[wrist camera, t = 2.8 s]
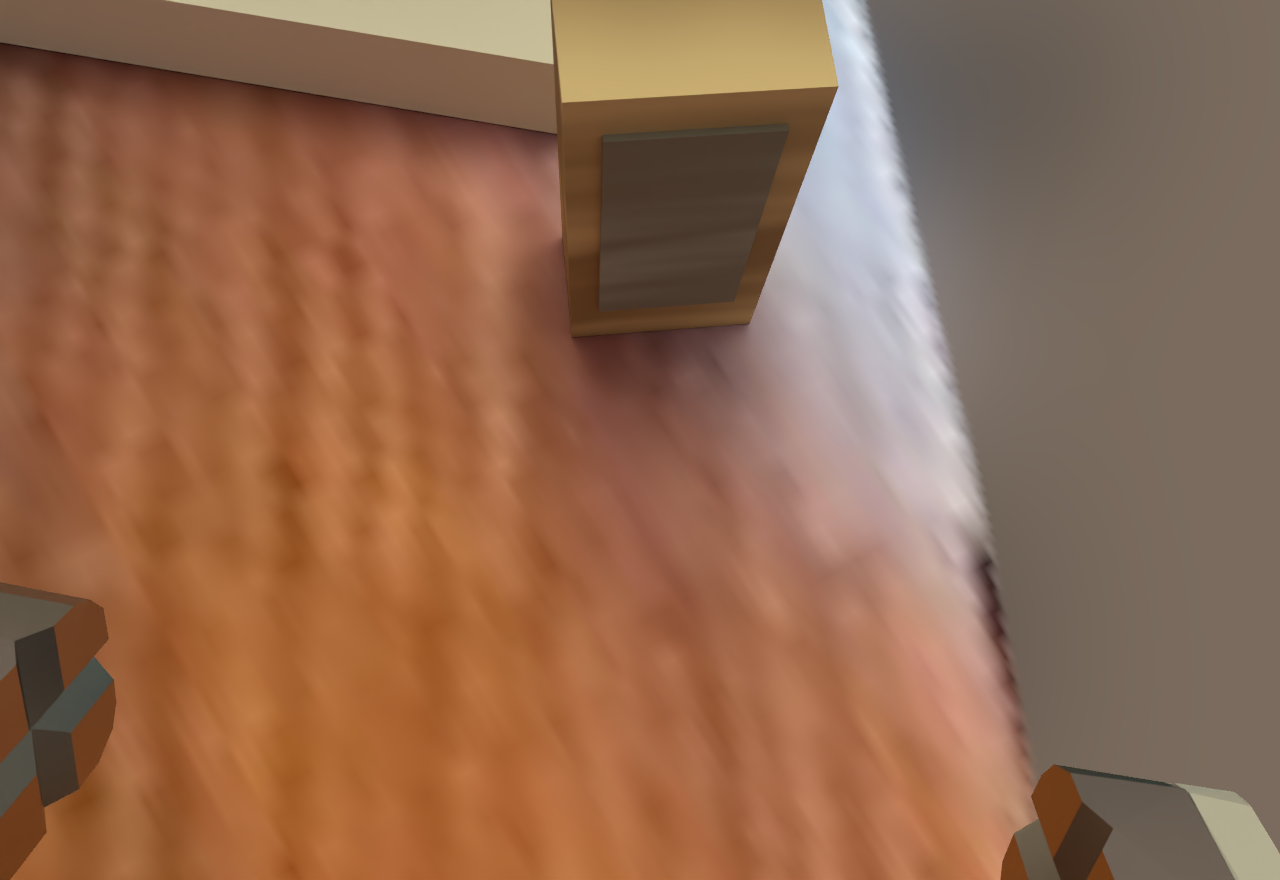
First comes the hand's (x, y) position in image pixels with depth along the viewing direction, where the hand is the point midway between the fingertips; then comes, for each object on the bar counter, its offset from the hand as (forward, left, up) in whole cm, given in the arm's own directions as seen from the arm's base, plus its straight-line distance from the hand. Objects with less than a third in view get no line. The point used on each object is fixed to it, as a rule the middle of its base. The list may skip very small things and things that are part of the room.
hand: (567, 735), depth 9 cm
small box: (+12, 0, -15) cm, 20 cm away
